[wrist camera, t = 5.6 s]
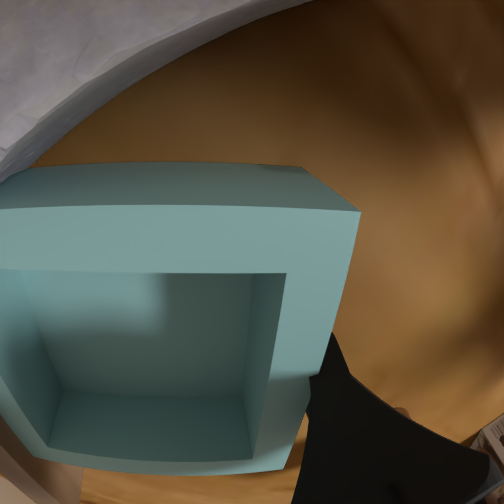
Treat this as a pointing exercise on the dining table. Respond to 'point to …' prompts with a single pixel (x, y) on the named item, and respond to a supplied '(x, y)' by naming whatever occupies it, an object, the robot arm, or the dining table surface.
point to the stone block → (93, 58)
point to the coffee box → (493, 452)
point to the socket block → (166, 311)
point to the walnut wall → (37, 472)
